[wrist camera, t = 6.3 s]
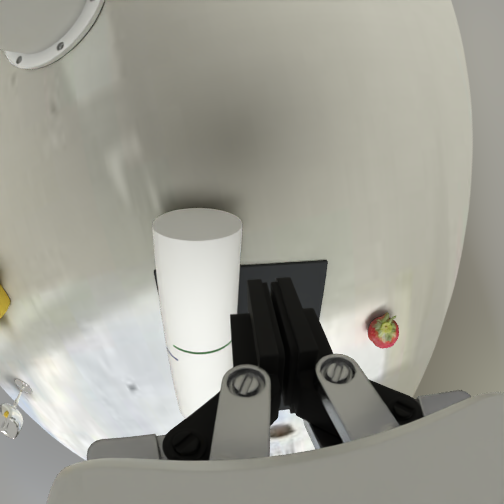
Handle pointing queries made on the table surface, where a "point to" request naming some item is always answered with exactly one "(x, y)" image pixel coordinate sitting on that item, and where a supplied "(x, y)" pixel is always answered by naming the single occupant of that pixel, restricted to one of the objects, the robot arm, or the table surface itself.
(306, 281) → the mat
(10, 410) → the wineglass
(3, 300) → the teapot
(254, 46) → the table surface
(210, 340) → the cylindrical container
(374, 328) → the fruit
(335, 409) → the robot arm
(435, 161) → the table surface
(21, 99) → the table surface
